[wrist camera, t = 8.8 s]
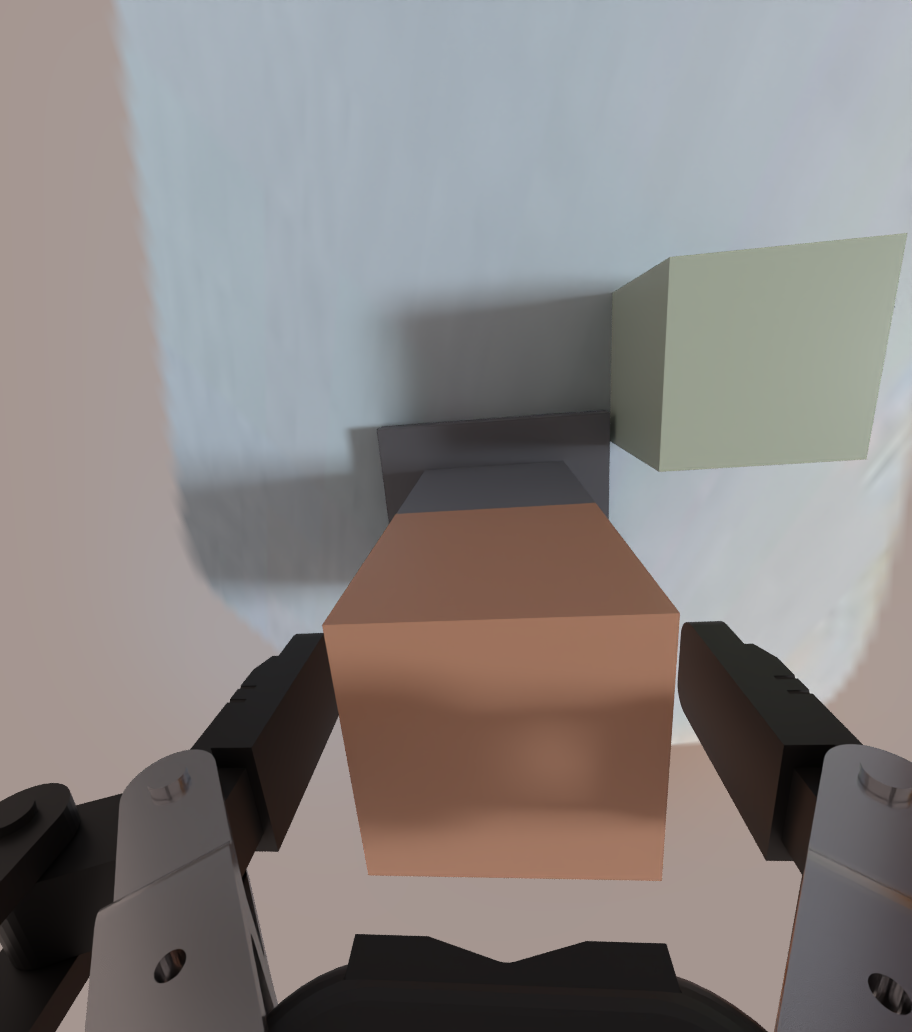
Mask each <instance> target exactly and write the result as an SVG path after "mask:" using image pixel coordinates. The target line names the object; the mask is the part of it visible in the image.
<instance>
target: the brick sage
mask: <svg viewBox="0 0 912 1032" xmlns="http://www.w3.org/2000/svg"><path fill="white" fill-rule="evenodd" d="M906 238H907V233H904V234H894V235H884V236H874V237H864V238H854V239H844V240H834V241H824V242H815V243H805V244H795V245H785V246H775V247H765V248H755V249H745V250H736V251H726V252H716V253H706V254H696V255H686V256H676V257H669V258H668V259H666V260H665V261H663V262H661V263H660V264H658V265H656V266H655V267H653V268H652V269H650V270H648V271H647V272H645V273H644V274H642V275H640V276H639V277H637V278H635V279H634V280H632V281H631V282H629V283H627V284H626V285H624V286H623V287H621V288H619V289H618V290H616V291H615V292H613V293H612V342H611V398H610V441H611V442H612V443H614V444H616V445H617V446H619V447H620V448H622V449H624V450H625V451H627V452H628V453H630V454H632V455H633V456H635V457H636V458H638V459H640V460H641V461H643V462H644V463H646V464H648V465H649V466H651V467H652V468H654V469H656V470H657V471H659V472H664V471H680V470H697V469H714V468H730V467H747V466H764V465H780V464H797V463H814V462H830V461H847V460H864V459H866V458H867V453H868V447H869V442H870V436H871V431H872V425H873V420H874V414H875V409H876V403H877V398H878V392H879V387H880V381H881V376H882V370H883V365H884V359H885V354H886V348H887V343H888V337H889V332H890V326H891V321H892V315H893V310H894V304H895V299H896V293H897V288H898V282H899V277H900V271H901V266H902V260H903V255H904V249H905V244H906Z"/></svg>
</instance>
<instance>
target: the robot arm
mask: <svg viewBox="0 0 912 1032" xmlns="http://www.w3.org/2000/svg"><path fill="white" fill-rule="evenodd" d="M678 694H679V699H680V703H681V706H682V709H683V712H684V714H685V715H686V717H687V719H688V721H689V723H690V724H691V726H692V728H693V730H694V732H695V733H696V735H697V737H698V739H699V741H700V742H701V744H702V746H703V748H704V750H705V751H706V753H707V755H708V757H709V759H710V760H711V762H712V764H713V765H714V768H715V769H716V771H717V773H718V775H719V777H720V778H721V780H722V782H723V784H724V786H725V787H726V789H727V791H728V793H729V795H730V797H731V798H732V800H733V802H734V803H735V806H736V807H737V809H738V811H739V813H740V815H741V816H742V818H743V820H744V822H745V823H746V825H747V827H748V829H749V831H750V833H751V834H752V836H753V838H754V840H755V842H756V843H757V845H758V847H759V849H760V851H761V852H762V854H763V856H764V858H765V860H766V861H794V862H795V864H796V865H797V867H798V869H799V870H800V872H801V874H802V879H801V885H800V890H799V895H798V901H797V907H796V912H795V918H794V923H793V929H792V935H791V941H790V947H789V951H788V957H787V963H786V969H785V974H784V980H783V985H782V990H781V996H780V1002H779V1007H778V1013H777V1018H776V1024H775V1029H774V1032H912V762H910V761H908V760H906V759H904V758H902V757H900V756H897V755H895V754H892V753H890V752H887V751H884V750H881V749H878V748H874V747H870V746H865V745H863V744H862V743H861V742H860V741H859V740H858V739H857V738H856V737H855V736H854V735H853V734H852V733H851V732H850V731H849V730H848V729H847V728H846V727H845V726H844V725H843V724H842V723H841V722H840V721H839V720H838V719H837V718H836V717H835V716H834V715H833V714H832V713H831V712H830V711H829V710H828V709H827V708H826V707H825V706H824V705H823V704H822V703H821V702H820V701H819V700H818V699H817V698H816V697H815V695H814V694H810V693H809V689H808V688H807V687H806V686H805V685H804V684H803V683H802V682H801V681H800V680H799V679H795V675H794V674H793V673H792V672H791V671H790V670H789V669H788V668H787V667H786V666H785V665H784V664H783V663H782V662H781V661H780V660H779V659H778V658H777V657H775V656H773V655H772V654H770V653H768V652H766V651H765V650H763V649H761V648H759V647H758V646H756V645H754V644H744V643H743V642H742V641H741V640H740V639H739V638H738V637H737V635H736V634H735V633H734V632H733V631H732V630H731V629H730V628H729V627H728V626H727V625H726V624H725V623H724V622H722V621H710V622H686V623H684V624H683V626H682V630H681V641H680V655H679V670H678ZM338 716H339V713H338V708H337V702H336V697H335V691H334V686H333V681H332V675H331V670H330V664H329V659H328V654H327V648H326V643H325V637H324V633H309V634H296V635H294V636H293V637H292V639H291V640H290V641H289V643H288V644H287V645H286V647H285V648H284V649H283V651H282V652H281V653H280V655H279V656H272V657H270V658H269V659H268V660H266V661H265V662H264V663H262V664H261V665H259V666H258V667H257V668H255V669H254V670H253V671H252V672H251V673H250V675H249V676H248V677H247V678H246V680H245V681H244V682H243V684H242V685H241V688H240V689H238V690H237V691H236V692H235V694H234V695H233V696H232V697H231V699H230V703H227V704H226V705H225V706H224V707H223V709H222V710H221V711H220V712H219V714H218V715H217V716H216V718H215V719H214V720H213V721H212V723H211V724H210V725H209V726H208V728H207V729H206V730H205V731H204V733H203V734H202V735H201V737H200V738H199V739H198V740H197V742H196V743H195V744H194V746H193V747H192V748H191V749H190V750H186V751H181V752H177V753H174V754H171V755H169V756H166V757H164V758H162V759H160V760H158V761H157V762H155V763H153V764H151V765H150V766H148V767H147V768H145V769H144V770H143V771H142V772H140V773H139V774H138V775H137V776H136V777H135V778H134V779H133V780H132V781H131V782H130V784H129V785H128V786H127V787H126V789H125V790H124V792H123V793H122V794H118V795H115V796H111V797H107V798H103V799H99V800H95V801H92V802H87V803H84V804H80V805H75V802H74V800H73V797H72V795H71V793H70V790H69V789H68V787H67V786H65V785H63V784H59V783H49V784H42V785H38V786H34V787H31V788H28V789H25V790H23V791H21V792H18V793H16V794H14V795H12V796H10V797H8V798H6V799H4V800H2V801H1V802H0V943H1V945H2V947H3V949H2V950H1V952H0V1032H55V1031H56V1030H57V1028H58V1026H59V1025H60V1023H61V1021H62V1020H63V1018H64V1017H65V1015H66V1014H67V1012H68V1010H69V1009H70V1007H71V1006H72V1004H73V1002H74V1001H75V999H76V997H77V996H78V994H79V993H80V991H81V989H82V988H83V986H84V984H85V983H86V981H87V980H88V978H89V976H90V981H89V991H88V1002H87V1013H86V1024H85V1032H767V1031H766V1030H765V1029H764V1028H763V1027H761V1025H759V1024H758V1023H757V1022H756V1021H754V1020H753V1019H752V1018H751V1017H749V1016H748V1015H746V1014H745V1013H744V1012H742V1011H741V1010H739V1009H738V1008H737V1007H736V1006H734V1005H733V1004H731V1003H729V1002H728V1001H726V1000H725V999H723V998H721V997H720V996H718V995H716V994H715V993H713V992H711V991H709V990H707V989H705V988H703V987H701V986H699V985H697V984H695V983H693V982H691V981H688V980H685V979H682V978H680V977H677V976H676V974H675V971H674V968H673V964H672V961H671V958H670V955H669V951H668V948H667V945H666V944H663V943H628V942H597V941H585V942H582V943H578V944H575V945H571V946H568V947H564V948H561V949H557V950H554V951H550V952H547V953H544V954H540V955H537V956H533V957H530V958H526V959H523V960H520V961H516V962H511V963H503V962H499V961H496V960H493V959H490V958H488V957H485V956H482V955H479V954H476V953H473V952H471V951H468V950H465V949H462V948H460V947H457V946H454V945H451V944H448V943H446V942H443V941H440V940H437V939H434V938H431V937H429V936H401V935H400V936H399V935H368V934H366V935H365V934H355V938H354V942H353V946H352V950H351V954H350V959H349V963H348V965H345V966H342V967H338V968H336V969H334V970H332V971H329V972H327V973H325V974H322V975H320V976H318V977H317V978H315V979H313V980H312V981H310V982H308V983H307V984H305V985H303V986H301V987H300V988H299V989H297V990H296V991H295V992H293V993H292V994H291V995H289V996H288V997H287V998H285V999H284V1000H283V1001H282V1002H280V1003H279V1004H278V1002H277V999H276V995H275V991H274V987H273V983H272V978H271V974H270V970H269V965H268V961H267V956H266V952H265V947H264V943H263V938H262V934H261V929H260V924H259V920H258V915H257V911H256V906H255V902H254V897H253V893H252V888H251V884H250V879H249V875H248V872H247V867H248V865H249V863H250V861H251V858H252V856H253V854H254V852H255V851H273V852H278V851H279V849H280V847H281V845H282V842H283V840H284V838H285V835H286V833H287V831H288V829H289V827H290V824H291V822H292V820H293V817H294V815H295V813H296V811H297V808H298V806H299V804H300V802H301V799H302V797H303V795H304V793H305V790H306V788H307V786H308V783H309V781H310V779H311V777H312V775H313V772H314V770H315V768H316V766H317V763H318V761H319V759H320V756H321V754H322V752H323V750H324V748H325V745H326V743H327V740H328V738H329V736H330V734H331V732H332V729H333V727H334V725H335V723H336V720H337V718H338Z"/></svg>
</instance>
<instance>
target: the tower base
mask: <svg viewBox="0 0 912 1032" xmlns="http://www.w3.org/2000/svg"><path fill="white" fill-rule="evenodd" d="M377 434H378V441H379V449H380V457H381V465H382V472H383V480H384V488H385V496H386V503H387V511H388V519H389V523H390V522H391V520H392V519H393V517H394V516H395V514H404V513H422V512H440V511H458V510H476V509H494V508H512V507H530V506H548V505H566V504H584V503H596V504H597V505H598V507H599V508H600V509H601V511H602V512H603V513H604V514H605V516H606V517H607V518H608V519H609V457H610V412H608V411H605V410H600V411H586V412H573V413H559V414H546V415H532V416H519V417H505V418H492V419H478V420H465V421H452V422H438V423H425V424H411V425H398V426H384V427H381V428H379V429H377Z"/></svg>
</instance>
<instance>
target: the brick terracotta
mask: <svg viewBox="0 0 912 1032" xmlns="http://www.w3.org/2000/svg"><path fill="white" fill-rule="evenodd" d="M679 619H680V613H679V611H678V610H677V609H676V607H675V606H674V605H673V604H672V602H671V601H670V600H669V598H668V597H667V596H666V594H665V593H664V592H663V590H662V589H661V588H660V587H659V585H658V584H657V583H656V581H655V580H654V579H653V577H652V576H651V575H650V573H649V572H648V571H647V569H646V568H645V567H644V566H643V564H642V563H641V562H640V560H639V559H638V558H637V556H636V555H635V554H634V552H633V551H632V550H631V549H630V547H629V546H628V545H627V543H626V542H625V541H624V539H623V538H622V537H621V535H620V534H619V533H618V531H617V530H616V529H615V528H614V526H613V525H612V524H611V522H610V521H609V520H608V518H607V517H606V516H605V514H604V513H603V512H602V511H601V509H600V508H599V507H598V505H597V504H596V503H584V504H566V505H548V506H530V507H512V508H494V509H476V510H458V511H440V512H422V513H404V514H395V516H394V517H393V519H392V520H391V522H390V523H389V525H388V526H387V528H386V530H385V531H384V533H383V534H382V536H381V537H380V539H379V540H378V542H377V543H376V545H375V546H374V548H373V549H372V551H371V552H370V554H369V555H368V557H367V558H366V560H365V561H364V563H363V564H362V566H361V567H360V569H359V570H358V572H357V573H356V575H355V576H354V578H353V579H352V581H351V582H350V584H349V585H348V587H347V588H346V590H345V591H344V593H343V594H342V596H341V597H340V599H339V600H338V602H337V603H336V605H335V607H334V608H333V610H332V611H331V613H330V614H329V616H328V617H327V619H326V620H325V622H324V623H323V625H322V627H323V632H324V637H325V643H326V648H327V654H328V659H329V664H330V670H331V675H332V681H333V686H334V691H335V697H336V702H337V708H338V713H339V718H340V724H341V729H342V735H343V740H344V745H345V751H346V756H347V761H348V767H349V772H350V777H351V783H352V788H353V794H354V799H355V805H356V810H357V816H358V821H359V826H360V832H361V837H362V843H363V848H364V853H365V859H366V864H367V869H368V875H380V876H384V875H385V876H434V877H436V876H437V877H489V878H540V879H541V878H543V879H594V880H598V879H599V880H647V881H648V880H649V881H651V880H652V881H662V869H663V854H664V839H665V838H664V837H665V823H666V808H667V795H668V794H667V793H668V780H669V766H670V750H671V736H672V722H673V707H674V692H675V677H676V663H677V648H678V633H679Z"/></svg>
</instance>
